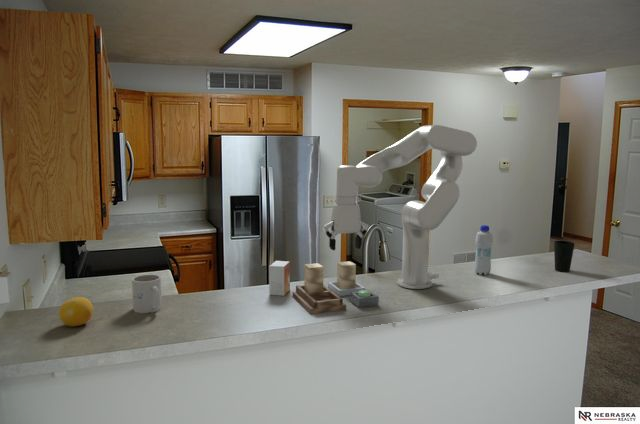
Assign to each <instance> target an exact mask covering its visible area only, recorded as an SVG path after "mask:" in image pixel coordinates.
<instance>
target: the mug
mask: <svg viewBox="0 0 640 424" xmlns="http://www.w3.org/2000/svg"><path fill="white" fill-rule="evenodd" d="M131 285H132V286H131V287H132V291H131V292H132V307H133V308H132V309H133V312H134V311H135V313H137V312H139V314H150V313H149V312H151V313H155V312H158V311H161V310H162V307H163V303H162V300H163V299H162V298H163V297H162V278H161V276H160V275H158V274H141V275H137V276H134V277H132V279H131Z"/></svg>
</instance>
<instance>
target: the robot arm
mask: <svg viewBox="0 0 640 424" xmlns="http://www.w3.org/2000/svg"><path fill="white" fill-rule="evenodd" d="M477 147H478V141H477V138H476V136H475V135H474V134H473V133H472V132H469V131H466V130H462V129H458V128H452V127H448V126H444V125H441V124H430V125H429V124H428V125H427V124H426V125H422V126H420V127H418V128H417V129H415V130H414V131H412V132H410V133H409V134H407V135H406V136H405V137H403V138H402V139H400V140H398V141H397V142H395V143H394V144H392V145H391V146H388V147H385V148H384V149H383V150H380V151H378V152H376V153H374V154H372V155H370V156H369V157H367V158H366V159H364V160H363V161H361V162H360V163H358V164H357V165H340V166H338V167H337V169H336V190H335V191H336V200H335V204H333V207H332V212H331V216H330V222H327V223H326V224H325V225H323V226H322V229H323V231H324V234H325V235H326V236H327V237H328V238H329V243H328V244H329V248H330V250H332V251H336V239H335V238H336V237H337V236H338V235H339V234H355V235H356V236H355V238H354V241H355V242H354V247H355V248H356V249H358V250H360V249H361V247H362V241H363V240H362V239H363V238H364V236H365V235H366V233H367V231H368V229H369V226H370V225H369V224H368V223H365V222H364V221H362V219H361V218H362V217H361V216H362V215H361V209H360V205H359V202H362V197H359V187H366V188H375V187H377V186H379V185H380V184H381V183H382V180H383V178H384V177H383V173H384V172H386V171H389V170H391V169H392V170H393V169H396V168H401V167H403V166H407V165H408V164H410V163H412V161H414V160H416V159H417V158H418V157H420V156H421V155H423V154H425V153H426V152H428V151H429V150H438V151H440V162H439V164H438V165H437V167H436V168H435V170H434V171H433V173H432V174H431V175H430V176H429V178H428V179H427V180H426V182H424V184H423V186H422V188H421V193H420V194H421V197H422V198H423V199H424V200H425V201H421V200H419V199H418V200H417V199H416V200H415V199H414V200H410V201H408V202H406V203H405V204H404V206H403V207H402V210H401V224H402V233H403V234H402V261H401V262H402V264H401V268H402V269H401V277H400V278H398V280H397V285H398V286H400V287H402V288H406V289H409V290H411V289H412V290H425V289H429V288H431V287H432V286H433V282H432V281H431V280H433V279H440V274H439V273H436V272H434V273H433V272H429V253H430V233H429V232H430V231H434V230H435V229H437V228H438V227H439V226H440V225H441V224H442V223H443V221H444V220H445V219H446V217H448V215H449V214H450V212H451V211H452V209H453V208H454V207H455V205H456V204H457V203H458V201H459V198H460V193H461V191H460V187H459V185H458V184H457V180H458V178H459V177H460V176H461V174H462V171H463V157H467V156H469V155H472V154H474V152H475V151H476V149H477ZM362 227H363V228H362ZM329 229H330V231H331V232H330V231H329Z"/></svg>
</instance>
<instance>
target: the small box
mask: <svg viewBox="0 0 640 424" xmlns="http://www.w3.org/2000/svg"><path fill="white" fill-rule="evenodd" d="M268 281H269V282H268V285H269V287H268V289H269V291H268V293H269V295H270V296H283V297H284V296H285V295H286V294H287V293H288V292H289V291H290V290H291V262H290V260H289V261H284V260H275V261H274V262H272V264H270V265H269V266H268Z"/></svg>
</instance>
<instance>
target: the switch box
mask: <svg viewBox="0 0 640 424" xmlns="http://www.w3.org/2000/svg"><path fill="white" fill-rule="evenodd" d="M369 291H370V290H369ZM349 299H350V300H349V301H350V302H351V303H352V304H354V305H355V306H356V307H357V308H359V309H360V308H368V307H369V308H370V307H376V306H377V307H378V306H379V299H380V298H379V296H378V295H377V294H375V293H374V292H372V291H370V296H369V297H359V296H358V292H351V293H350V295H349Z"/></svg>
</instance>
